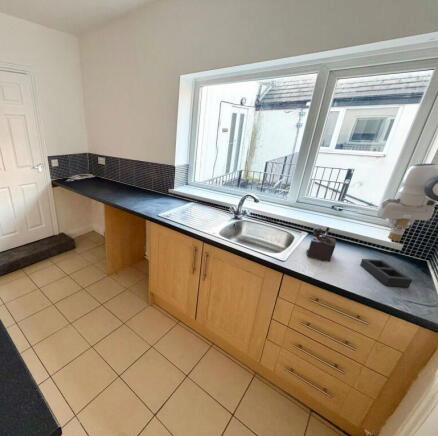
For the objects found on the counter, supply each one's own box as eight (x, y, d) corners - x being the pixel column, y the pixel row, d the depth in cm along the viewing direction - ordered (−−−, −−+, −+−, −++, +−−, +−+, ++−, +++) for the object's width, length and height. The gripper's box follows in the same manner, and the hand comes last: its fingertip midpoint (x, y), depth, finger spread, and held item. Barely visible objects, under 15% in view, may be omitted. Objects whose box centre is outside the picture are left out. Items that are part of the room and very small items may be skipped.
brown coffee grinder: (307, 248, 137) (316, 218, 130) (331, 254, 131) (341, 223, 124) (303, 259, 125) (312, 228, 118) (329, 267, 119) (340, 234, 112)
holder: (379, 267, 120) (382, 260, 118) (408, 287, 104) (412, 279, 103) (359, 265, 121) (362, 258, 119) (385, 285, 105) (389, 277, 104)
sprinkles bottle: (389, 240, 116) (400, 214, 111) (385, 236, 120) (396, 210, 115) (401, 242, 114) (414, 215, 109) (398, 238, 118) (409, 212, 113)
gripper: (390, 200, 108) (379, 228, 113) (441, 202, 106) (428, 231, 111) (379, 196, 114) (369, 223, 119) (427, 198, 112) (416, 226, 117)
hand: (398, 227), depth 115 cm, fingers closed on sprinkles bottle, 4 cm apart
